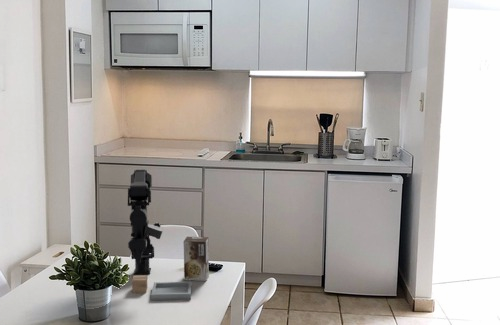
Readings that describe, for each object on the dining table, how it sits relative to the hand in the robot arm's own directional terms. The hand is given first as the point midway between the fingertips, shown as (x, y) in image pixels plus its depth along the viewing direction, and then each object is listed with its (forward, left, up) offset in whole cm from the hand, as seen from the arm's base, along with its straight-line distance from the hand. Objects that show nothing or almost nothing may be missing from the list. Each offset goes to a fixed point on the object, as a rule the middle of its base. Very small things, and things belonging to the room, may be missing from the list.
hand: (140, 259), depth 210 cm
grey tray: (+4, +12, -12) cm, 17 cm away
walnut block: (0, 0, -12) cm, 12 cm away
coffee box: (-12, +21, -12) cm, 27 cm away
